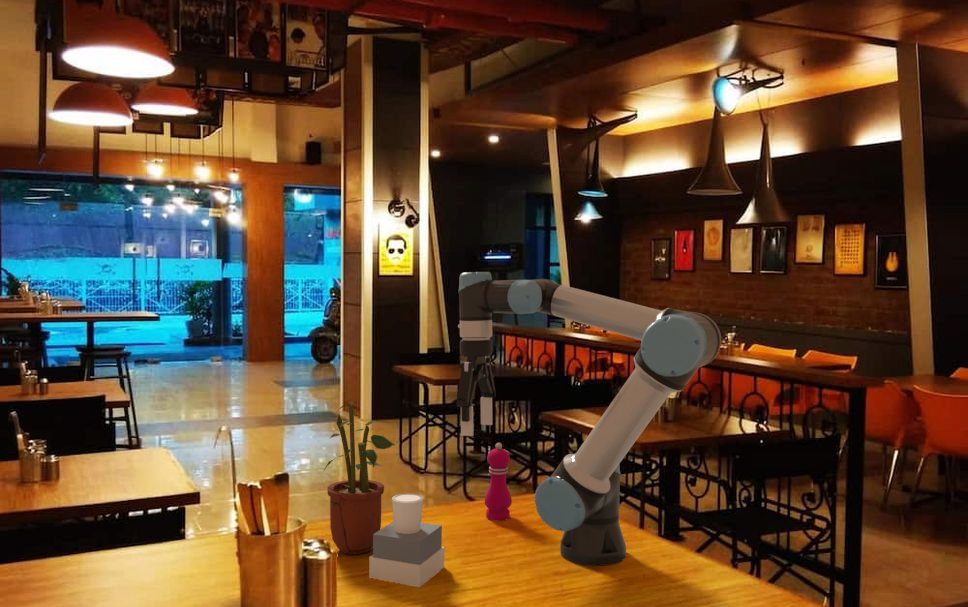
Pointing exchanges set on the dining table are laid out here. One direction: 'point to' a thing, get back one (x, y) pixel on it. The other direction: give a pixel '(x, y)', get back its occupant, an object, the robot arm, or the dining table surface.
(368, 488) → the potted plant
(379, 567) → the tower base
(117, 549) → the dining table surface
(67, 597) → the dining table surface
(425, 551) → the tower top
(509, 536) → the dining table surface
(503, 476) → the pepper mill
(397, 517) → the white cup
